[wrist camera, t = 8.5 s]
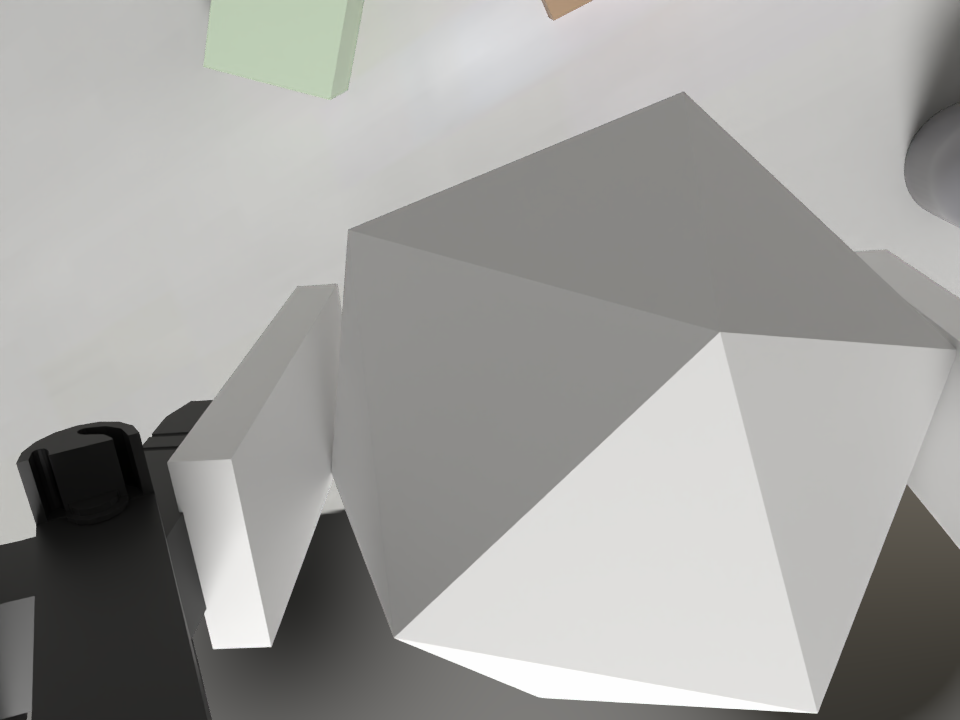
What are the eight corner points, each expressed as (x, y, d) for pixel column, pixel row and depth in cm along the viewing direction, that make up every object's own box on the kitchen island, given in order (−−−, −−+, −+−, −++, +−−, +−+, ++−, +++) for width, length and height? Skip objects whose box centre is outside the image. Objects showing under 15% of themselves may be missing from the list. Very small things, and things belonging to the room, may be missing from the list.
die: (326, 446, 18) (535, 928, 13) (161, 113, 12) (451, 819, 6) (653, 297, 20) (971, 668, 14) (675, -77, 13) (1300, 346, 7)
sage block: (234, 59, 37) (203, 66, 33) (250, -67, 35) (219, -74, 31) (348, 89, 37) (330, 100, 33) (370, -34, 35) (353, -38, 32)
